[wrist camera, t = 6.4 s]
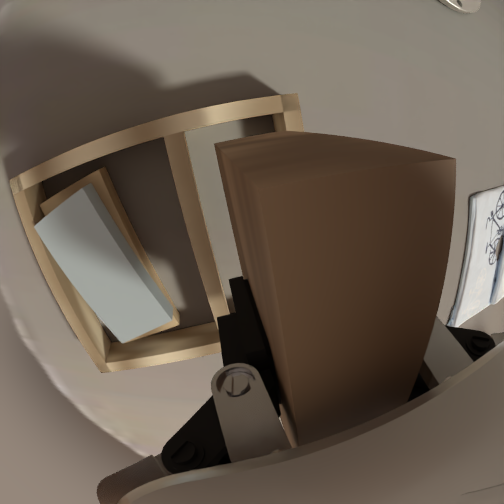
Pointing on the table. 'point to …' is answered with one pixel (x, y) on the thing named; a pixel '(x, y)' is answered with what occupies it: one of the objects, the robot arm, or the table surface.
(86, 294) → the offcut top
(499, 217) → the white patterned flat part
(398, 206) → the brown flat block
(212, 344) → the rack
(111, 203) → the block
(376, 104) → the table surface
